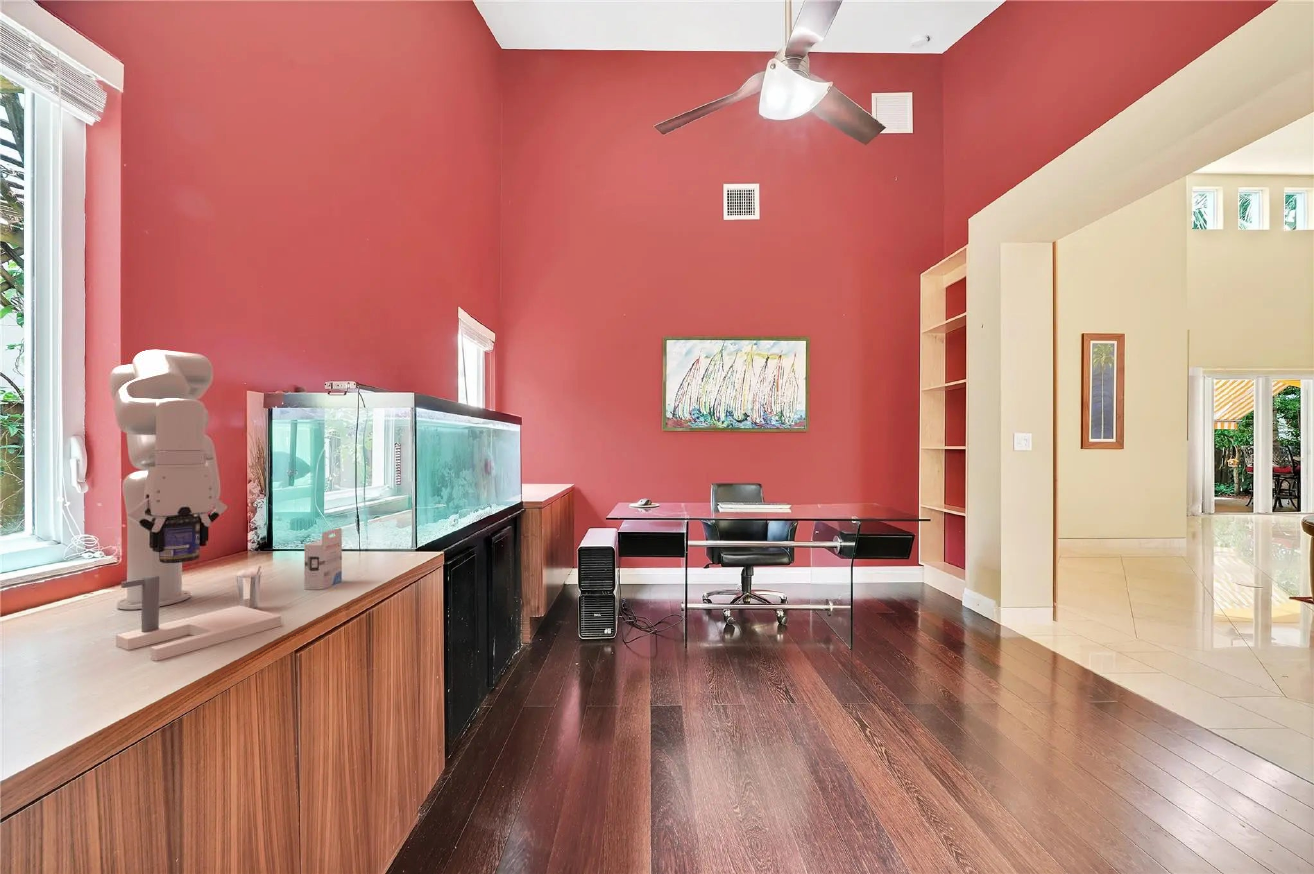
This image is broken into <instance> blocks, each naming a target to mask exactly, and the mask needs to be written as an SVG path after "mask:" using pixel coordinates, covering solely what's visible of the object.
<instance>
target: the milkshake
mask: <svg viewBox="0 0 1314 874" xmlns="http://www.w3.org/2000/svg"><path fill="white" fill-rule="evenodd" d="M261 568H262V565H259V566H258V568H245V569H243V570H240V571H238V572H237V573H236V575H235V576H236V577H235V578H236V585H237V591H238V592H237V593H238V602H239V605H238V606H244V607H248V608H252V609H256V610H258V608H259V599H260V589H261V579H262V571H261Z"/></svg>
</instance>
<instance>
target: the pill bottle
mask: <svg viewBox="0 0 1314 874" xmlns="http://www.w3.org/2000/svg"><path fill="white" fill-rule="evenodd" d="M191 512H192V511H191V509H190V508H189V507H181V508H180V509H179V511H178V512H177V513H178V514H179V515H176V516H173V517H166V519H165V521H164V523H163V525H162V527H161V531H162V532H163V533H164V550H163V551H162V552H159V561H160V562H161V563H180V562H182V563H185V562H186V563H187V562H193V561H195V560H196V561H197V560H199V558H200V555H201V554H200V553H201V552H200V549H201V548H200V547H201V546H200V520H199V518H197V517H195V516H194V515H192V514H189V513H191Z"/></svg>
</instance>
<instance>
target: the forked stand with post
mask: <svg viewBox="0 0 1314 874" xmlns="http://www.w3.org/2000/svg"><path fill="white" fill-rule="evenodd" d="M139 585H142V609H141V626H140V627H141V628H139V629H134V630H131V631H127V632H122V633H119V634H118V633H117V634H115V646H116V647H119V648H120V649H124V650H125V651H130V650H134V649H138V648H141V647H145V646H149V645H154V644H156V643H157V644H158V643H160V642H164V641H169V640H172V639H175V638H176V639H177V638H180V637H183V636H188V635H190V636H189V637H185V638H182V639H178V640H174V641H170V642H165V643H162V644H159V645H155V646H150V660H152V661H155V662H157V661H161V660H165V659H168V658H171V657H175V656H178V655H183V654H186V653H188V652H189V653H190V652H192V651H196V650H200V649H202V648H203V649H204V648H206V647H211V646H214V645H218V644H221V643H224V642H229V641H232V640H235V639H240V638H241V637H246V636H249V635H252V634H253V635H254V634H256V633H260V632H264V631H266V630H270V629H271V630H272V629H274V628H277V627H280V626H282V615H280V614H275V613H271V612H268V611H263V610H259V609H252V608H248V607H244V606H239V605H237V606H232V607H228V608H223V609H219V610H215V611H211V612H207V613H202V614H198V615H195V616H190V617H186V618H182V619H177V620H172V621H168V622H165V623H160V606H159V576H150V577H145V578H142V579H137V580H131V581H127V580H125V581H121V582H120V588H121V589H127V587H133V586H139Z"/></svg>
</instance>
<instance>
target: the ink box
mask: <svg viewBox="0 0 1314 874" xmlns="http://www.w3.org/2000/svg"><path fill="white" fill-rule="evenodd" d="M342 534H343V533H342V527H339V528H335V529H331V530H328V531H323V532H322V533H321V539H320V540H317V541H312V542H310V543H305V544H304V561H303V562H304V568H303V569H304V586H303V587H304V590H315V591H316V590H324V589H327V588H329V587H332V586H335V585H336V584H338V583H340V582H342V575H343V574H342V573H343V570H342V567H343V565H342V564H343V557H342V555H343V554H342V553H343V548H342V547H343V539H342ZM331 535H333V536H331Z"/></svg>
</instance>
